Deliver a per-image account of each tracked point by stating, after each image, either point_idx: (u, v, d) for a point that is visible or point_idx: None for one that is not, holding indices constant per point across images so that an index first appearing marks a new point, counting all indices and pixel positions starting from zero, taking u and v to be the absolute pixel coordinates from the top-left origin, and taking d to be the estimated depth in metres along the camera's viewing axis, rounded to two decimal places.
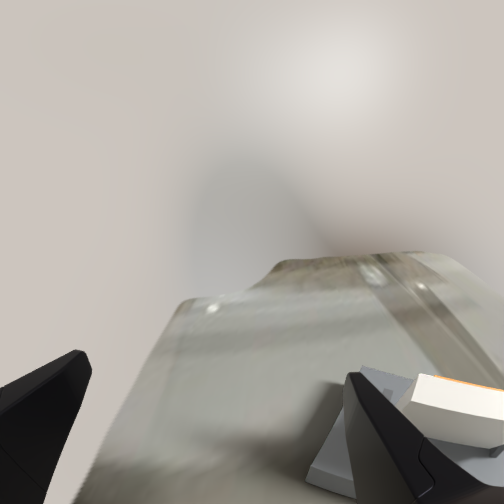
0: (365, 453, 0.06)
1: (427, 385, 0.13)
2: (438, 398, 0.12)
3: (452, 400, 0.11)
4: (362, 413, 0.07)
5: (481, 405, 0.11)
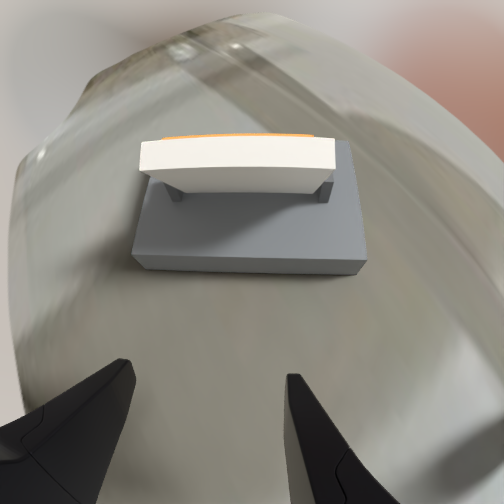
0: (292, 458, 0.06)
1: (151, 151, 0.15)
2: (166, 159, 0.15)
3: (181, 157, 0.15)
4: (290, 416, 0.07)
5: (218, 155, 0.14)
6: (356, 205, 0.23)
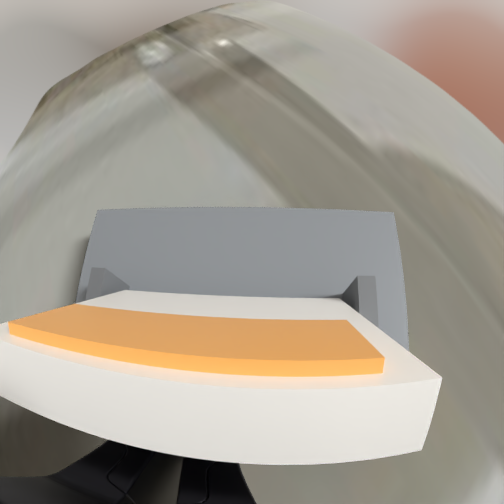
0: None
1: None
2: (17, 388, 0.05)
3: (40, 396, 0.05)
4: None
5: (112, 417, 0.04)
6: (402, 340, 0.13)
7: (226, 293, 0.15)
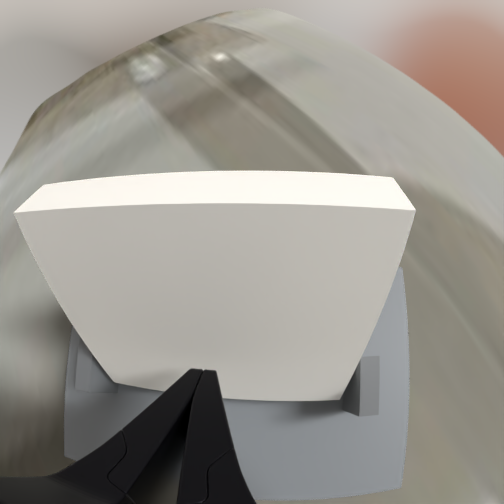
0: None
1: (47, 192, 0.07)
2: (58, 199, 0.07)
3: (82, 196, 0.07)
4: None
5: (150, 191, 0.07)
6: (402, 405, 0.12)
7: None
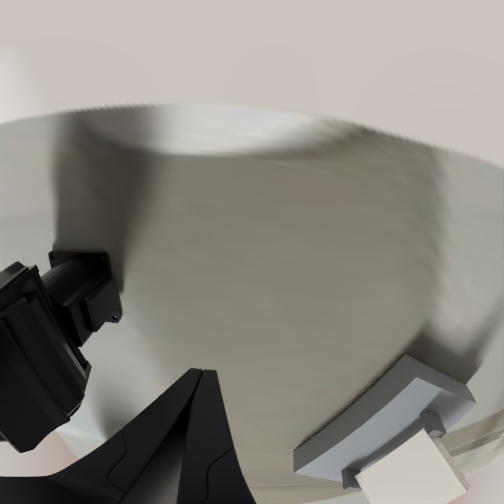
0: None
1: None
2: (455, 497, 0.15)
3: None
4: None
5: None
6: (327, 478, 0.27)
7: (395, 446, 0.25)
